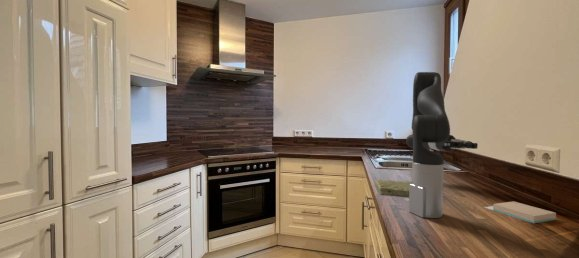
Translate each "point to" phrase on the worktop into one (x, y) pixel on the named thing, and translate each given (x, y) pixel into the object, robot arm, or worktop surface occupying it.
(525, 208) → the tile
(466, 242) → the worktop surface
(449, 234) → the worktop surface
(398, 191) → the decorative tile
